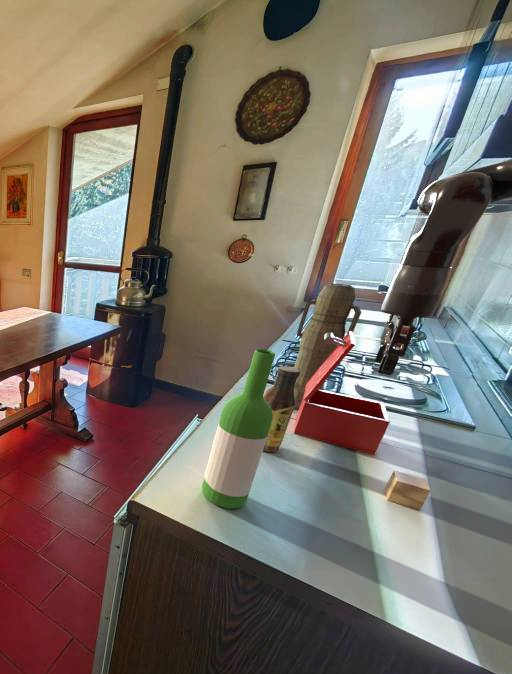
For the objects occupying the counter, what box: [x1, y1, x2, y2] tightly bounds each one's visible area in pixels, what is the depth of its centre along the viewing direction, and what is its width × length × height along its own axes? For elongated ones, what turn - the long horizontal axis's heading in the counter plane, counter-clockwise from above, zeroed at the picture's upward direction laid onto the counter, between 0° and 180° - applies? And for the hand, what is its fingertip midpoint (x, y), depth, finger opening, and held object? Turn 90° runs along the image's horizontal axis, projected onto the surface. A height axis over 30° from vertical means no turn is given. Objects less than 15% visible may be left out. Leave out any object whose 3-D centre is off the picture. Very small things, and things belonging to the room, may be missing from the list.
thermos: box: [293, 283, 362, 411], centre depth 108 cm, size 9×12×35 cm
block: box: [384, 469, 431, 511], centre depth 75 cm, size 5×5×5 cm
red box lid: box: [304, 332, 356, 401], centre depth 97 cm, size 16×13×5 cm
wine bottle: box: [201, 348, 276, 510], centre depth 70 cm, size 8×8×30 cm
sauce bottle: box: [263, 365, 300, 453], centre depth 90 cm, size 7×6×20 cm
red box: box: [293, 390, 391, 456], centre depth 98 cm, size 16×13×9 cm
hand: (382, 368), depth 82 cm, fingers open, 8 cm apart
